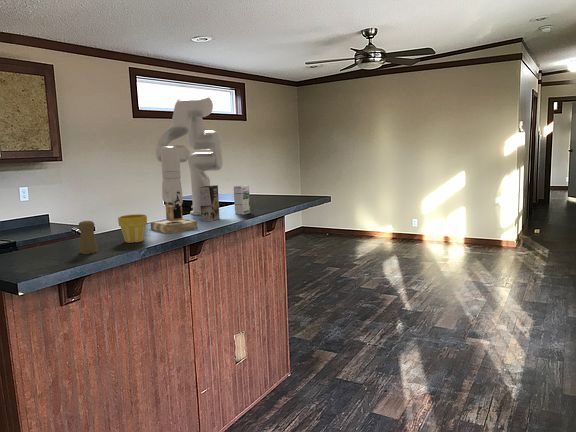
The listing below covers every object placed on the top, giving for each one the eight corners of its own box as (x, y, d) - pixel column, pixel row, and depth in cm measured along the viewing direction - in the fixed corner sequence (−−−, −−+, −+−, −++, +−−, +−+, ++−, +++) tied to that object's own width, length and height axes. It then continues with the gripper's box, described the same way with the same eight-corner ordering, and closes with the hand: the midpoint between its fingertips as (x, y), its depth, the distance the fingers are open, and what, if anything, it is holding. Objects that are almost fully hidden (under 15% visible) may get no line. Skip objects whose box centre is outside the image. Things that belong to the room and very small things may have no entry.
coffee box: (213, 221, 224) (211, 186, 222) (200, 221, 226) (198, 187, 223) (220, 218, 233) (218, 185, 231) (207, 218, 234) (205, 185, 232)
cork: (101, 251, 167) (98, 220, 165) (84, 254, 162) (81, 223, 161) (93, 249, 171) (90, 219, 169) (76, 252, 166) (73, 221, 165)
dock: (150, 228, 209) (149, 221, 209) (179, 224, 218) (178, 217, 217) (167, 233, 197) (167, 225, 196) (197, 228, 206) (197, 221, 205)
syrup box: (243, 214, 241) (241, 186, 239) (234, 214, 245) (233, 185, 242) (250, 213, 246) (249, 185, 243) (242, 212, 249) (240, 184, 247)
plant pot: (128, 238, 189) (126, 213, 188) (153, 238, 188) (151, 213, 186) (114, 243, 179) (112, 218, 178) (140, 244, 177) (138, 218, 176)
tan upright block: (166, 220, 206) (165, 204, 205) (177, 218, 209) (176, 203, 208) (171, 221, 202) (170, 205, 201) (182, 220, 206) (181, 203, 204)
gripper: (154, 175, 207) (157, 216, 210) (172, 177, 194) (176, 221, 197) (170, 174, 212) (173, 214, 215) (189, 175, 199) (192, 218, 202)
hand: (174, 217), depth 206 cm, fingers closed on tan upright block, 5 cm apart
